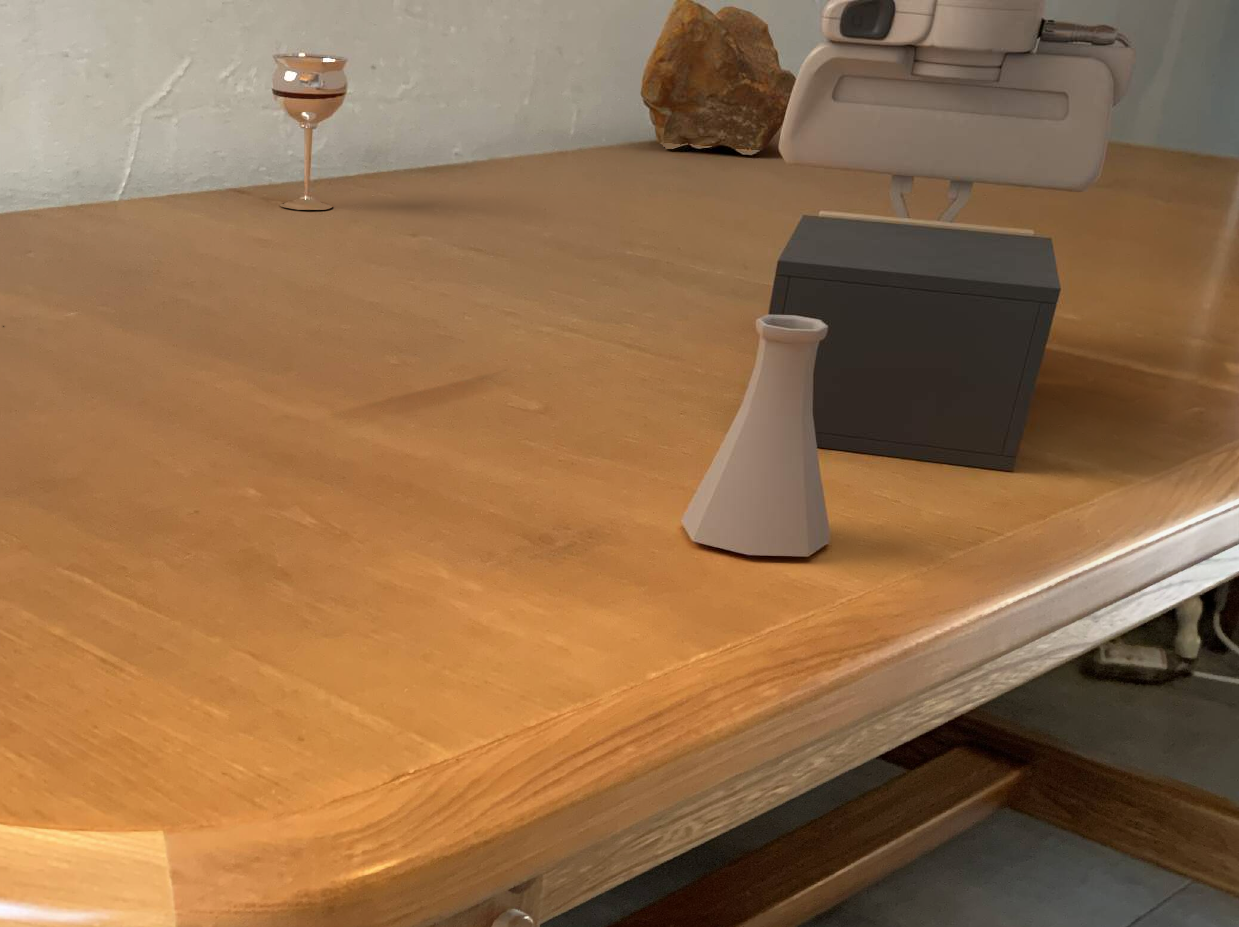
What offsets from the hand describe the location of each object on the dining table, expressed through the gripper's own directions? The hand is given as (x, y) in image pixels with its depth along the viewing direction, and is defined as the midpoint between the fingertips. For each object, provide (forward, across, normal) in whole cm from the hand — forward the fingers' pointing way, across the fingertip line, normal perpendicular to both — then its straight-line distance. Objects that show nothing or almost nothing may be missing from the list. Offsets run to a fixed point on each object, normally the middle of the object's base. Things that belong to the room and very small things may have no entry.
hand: (915, 251), depth 113 cm
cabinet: (+6, 0, +19) cm, 20 cm away
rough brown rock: (+7, +24, -94) cm, 98 cm away
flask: (+6, +5, +44) cm, 45 cm away
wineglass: (+7, +54, -32) cm, 63 cm away
